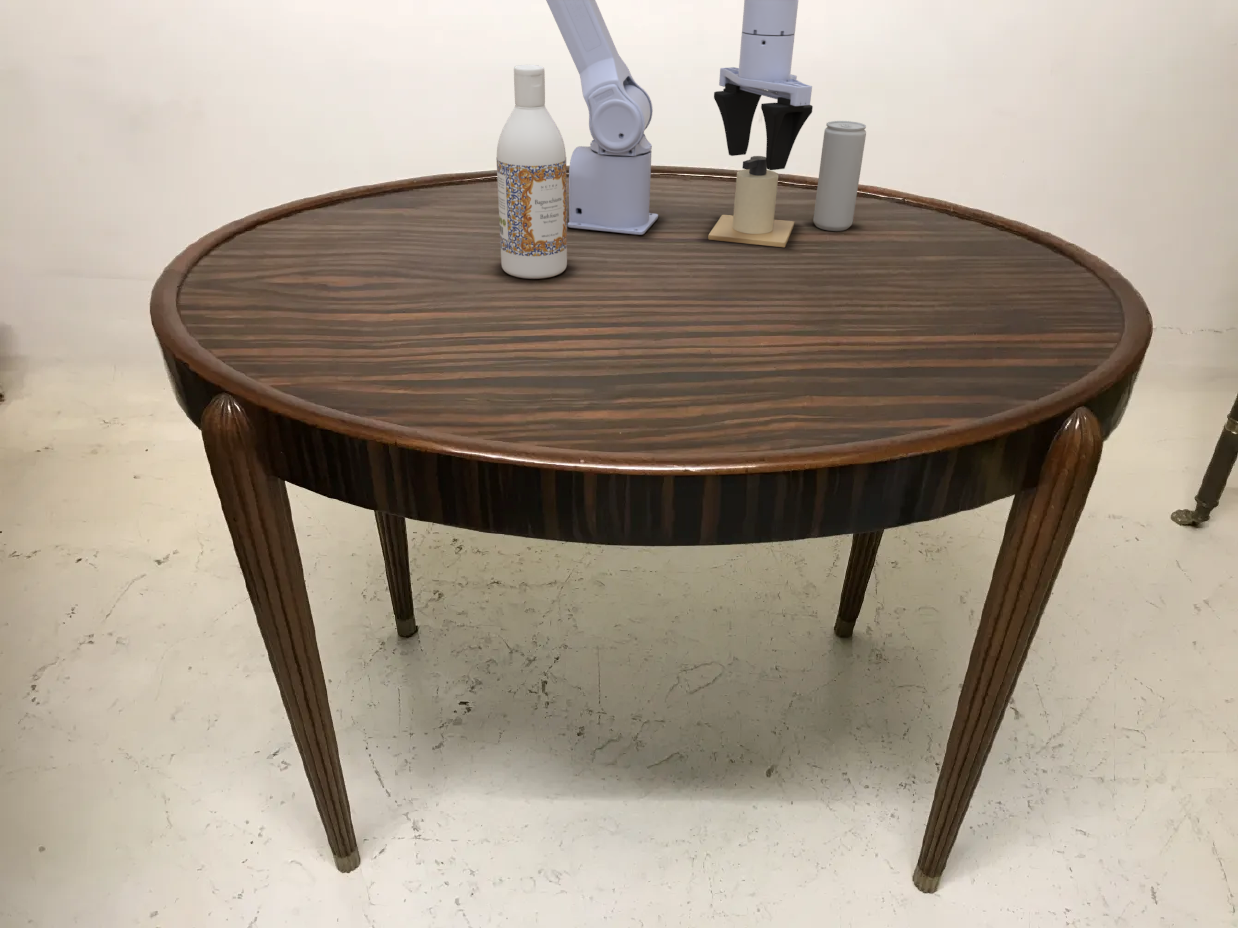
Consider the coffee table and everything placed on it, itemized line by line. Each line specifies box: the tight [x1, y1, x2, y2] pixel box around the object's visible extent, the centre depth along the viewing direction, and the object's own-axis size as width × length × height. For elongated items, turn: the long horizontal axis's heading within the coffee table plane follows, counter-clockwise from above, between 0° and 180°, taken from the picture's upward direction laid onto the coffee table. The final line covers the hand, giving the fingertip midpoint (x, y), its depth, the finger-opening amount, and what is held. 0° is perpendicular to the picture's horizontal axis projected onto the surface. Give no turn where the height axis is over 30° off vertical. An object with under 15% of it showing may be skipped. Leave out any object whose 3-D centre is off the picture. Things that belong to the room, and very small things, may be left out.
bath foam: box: [495, 64, 568, 280], centre depth 94 cm, size 7×7×20 cm
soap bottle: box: [732, 155, 779, 234], centre depth 109 cm, size 5×5×8 cm
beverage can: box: [812, 120, 867, 232], centre depth 112 cm, size 5×5×12 cm
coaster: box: [707, 214, 795, 248], centre depth 112 cm, size 9×9×1 cm
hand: (756, 161), depth 108 cm, fingers open, 7 cm apart
